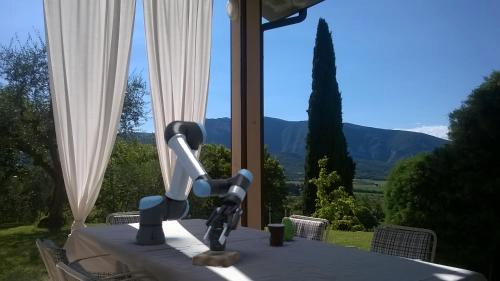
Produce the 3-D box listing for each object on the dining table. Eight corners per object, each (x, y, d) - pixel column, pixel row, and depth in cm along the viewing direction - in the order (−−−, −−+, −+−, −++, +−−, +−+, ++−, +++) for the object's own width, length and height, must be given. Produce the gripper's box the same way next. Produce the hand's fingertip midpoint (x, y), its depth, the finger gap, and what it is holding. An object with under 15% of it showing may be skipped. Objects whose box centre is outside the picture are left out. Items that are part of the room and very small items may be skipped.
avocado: (277, 239, 234) (277, 217, 235) (290, 238, 237) (290, 216, 238) (284, 242, 227) (284, 219, 227) (297, 241, 230) (297, 218, 230)
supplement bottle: (209, 248, 182) (209, 219, 183) (225, 248, 183) (226, 219, 184) (209, 251, 176) (209, 221, 176) (226, 251, 176) (226, 221, 177)
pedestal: (192, 264, 174) (192, 256, 175) (208, 257, 189) (208, 249, 189) (227, 267, 169) (227, 258, 170) (240, 259, 184) (241, 251, 184)
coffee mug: (283, 247, 213) (283, 226, 213) (266, 246, 214) (266, 225, 215) (286, 243, 224) (286, 223, 225) (270, 242, 226) (270, 222, 226)
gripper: (256, 205, 189) (237, 249, 174) (218, 203, 198) (197, 245, 183) (250, 193, 185) (230, 238, 169) (212, 192, 194) (189, 233, 179)
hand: (213, 241), depth 176 cm, fingers closed on supplement bottle, 7 cm apart
